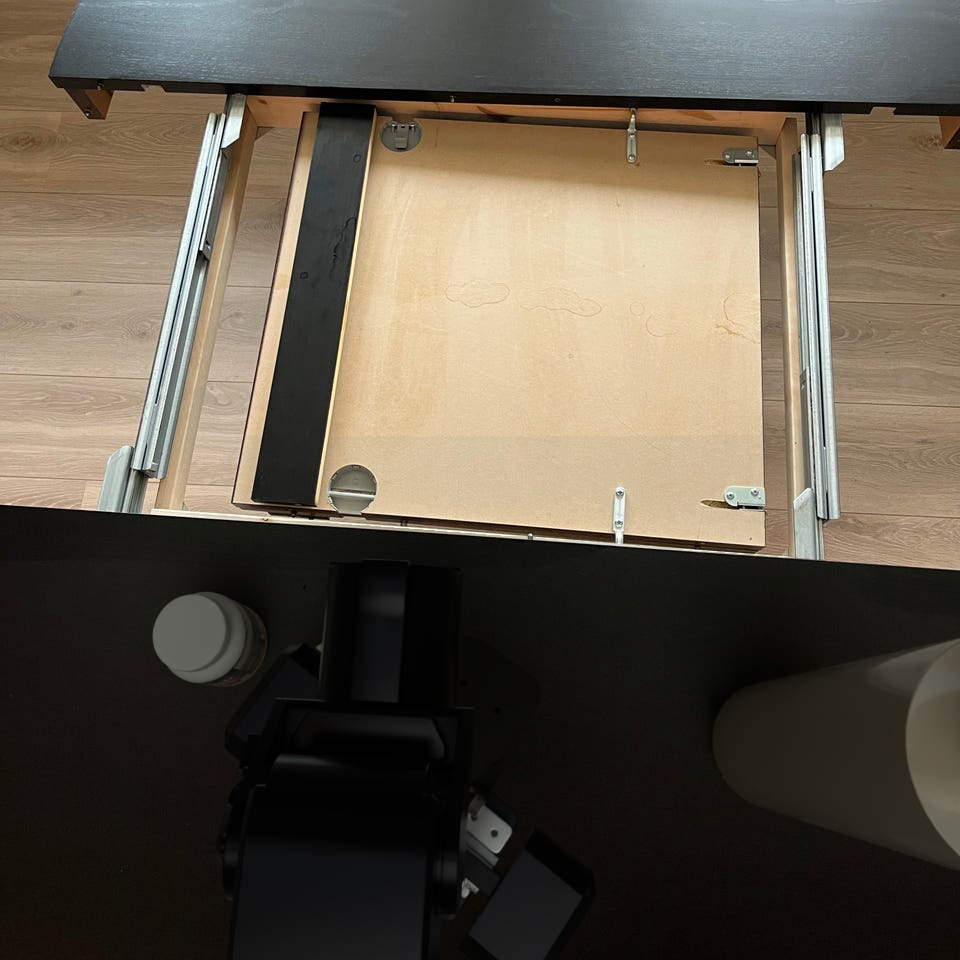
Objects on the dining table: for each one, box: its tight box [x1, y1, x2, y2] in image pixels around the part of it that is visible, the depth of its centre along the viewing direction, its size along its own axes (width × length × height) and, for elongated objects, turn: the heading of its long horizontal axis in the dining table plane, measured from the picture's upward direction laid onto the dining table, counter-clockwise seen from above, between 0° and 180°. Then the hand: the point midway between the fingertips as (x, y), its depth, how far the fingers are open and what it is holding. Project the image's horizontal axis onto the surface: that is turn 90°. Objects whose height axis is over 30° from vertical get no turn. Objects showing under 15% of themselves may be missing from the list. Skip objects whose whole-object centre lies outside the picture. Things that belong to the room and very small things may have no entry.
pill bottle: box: [152, 591, 268, 687], centre depth 71 cm, size 6×6×10 cm
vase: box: [711, 636, 960, 873], centre depth 50 cm, size 8×8×46 cm
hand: (422, 797), depth 59 cm, fingers closed on stick, 2 cm apart
